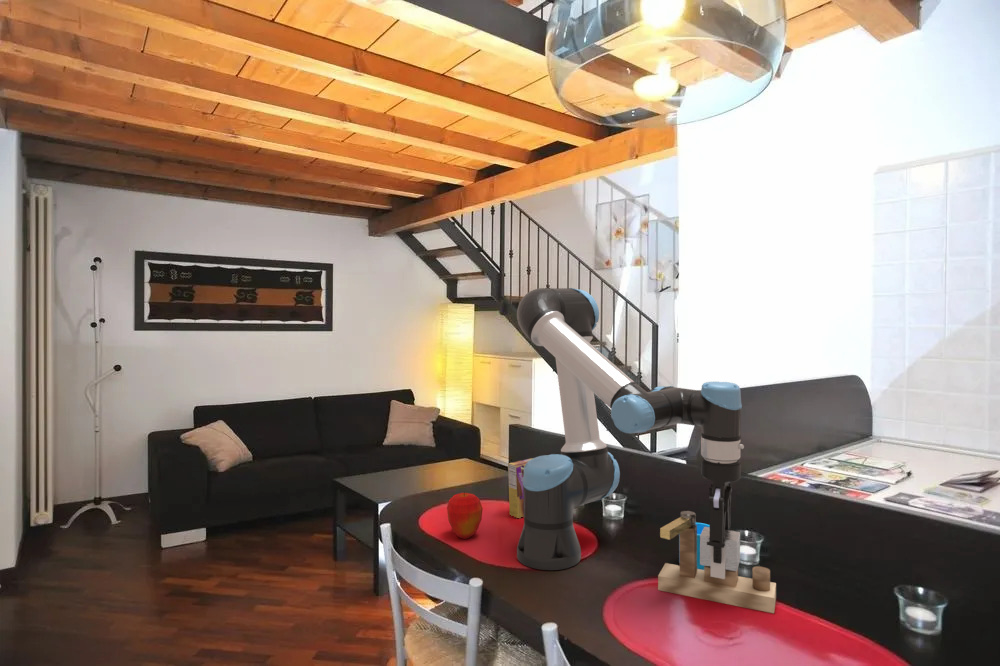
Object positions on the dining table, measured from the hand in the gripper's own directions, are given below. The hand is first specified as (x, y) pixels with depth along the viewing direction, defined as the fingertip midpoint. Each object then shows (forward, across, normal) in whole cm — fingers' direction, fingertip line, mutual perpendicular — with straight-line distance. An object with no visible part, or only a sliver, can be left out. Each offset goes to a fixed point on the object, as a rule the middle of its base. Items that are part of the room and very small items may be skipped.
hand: (719, 570), depth 121 cm
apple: (+6, +5, +64) cm, 64 cm away
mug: (+5, +15, +6) cm, 17 cm away
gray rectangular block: (-2, 0, 0) cm, 2 cm away
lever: (-9, -4, +7) cm, 12 cm away
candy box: (+6, +27, +57) cm, 63 cm away
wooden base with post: (+5, 0, +1) cm, 5 cm away
